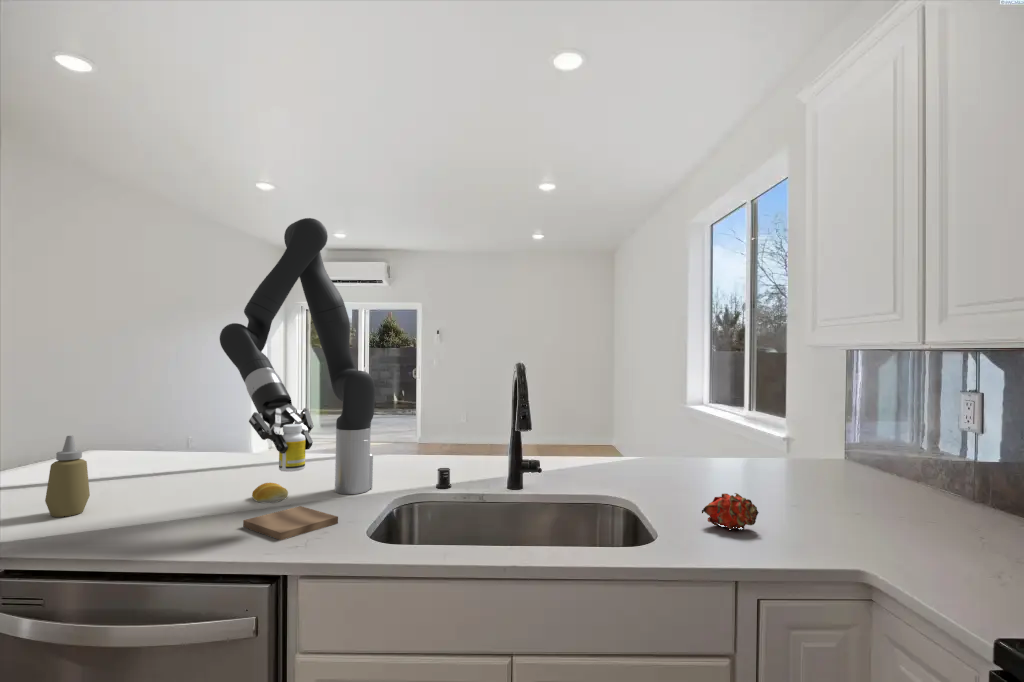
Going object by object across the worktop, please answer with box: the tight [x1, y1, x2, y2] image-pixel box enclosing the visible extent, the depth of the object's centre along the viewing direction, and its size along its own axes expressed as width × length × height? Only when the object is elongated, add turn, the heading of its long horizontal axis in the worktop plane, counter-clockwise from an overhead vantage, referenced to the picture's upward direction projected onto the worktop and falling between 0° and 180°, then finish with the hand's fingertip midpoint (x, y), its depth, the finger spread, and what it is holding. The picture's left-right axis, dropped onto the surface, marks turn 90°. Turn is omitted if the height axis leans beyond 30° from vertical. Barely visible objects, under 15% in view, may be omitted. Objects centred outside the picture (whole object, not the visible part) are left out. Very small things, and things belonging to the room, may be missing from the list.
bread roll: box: [251, 482, 289, 503], centre depth 143 cm, size 8×9×4 cm
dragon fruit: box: [701, 492, 760, 530], centre depth 123 cm, size 8×8×12 cm
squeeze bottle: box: [44, 435, 91, 518], centre depth 128 cm, size 8×8×18 cm
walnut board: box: [242, 505, 339, 541], centre depth 121 cm, size 14×14×2 cm
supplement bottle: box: [278, 423, 306, 472], centre depth 122 cm, size 5×5×10 cm
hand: (297, 448), depth 121 cm, fingers closed on supplement bottle, 5 cm apart
